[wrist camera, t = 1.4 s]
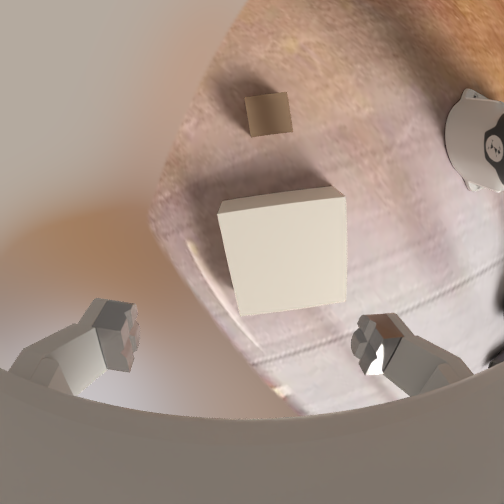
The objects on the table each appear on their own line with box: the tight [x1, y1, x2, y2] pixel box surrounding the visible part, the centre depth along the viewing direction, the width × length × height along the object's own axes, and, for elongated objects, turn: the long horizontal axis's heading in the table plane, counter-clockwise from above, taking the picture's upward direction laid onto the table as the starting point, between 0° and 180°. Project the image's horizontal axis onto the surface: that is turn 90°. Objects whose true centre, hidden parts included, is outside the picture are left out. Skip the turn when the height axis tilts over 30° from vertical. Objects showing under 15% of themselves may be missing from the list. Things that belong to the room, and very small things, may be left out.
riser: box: [217, 186, 347, 317], centre depth 39 cm, size 16×16×6 cm
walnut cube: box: [244, 92, 293, 137], centre depth 31 cm, size 5×5×5 cm
